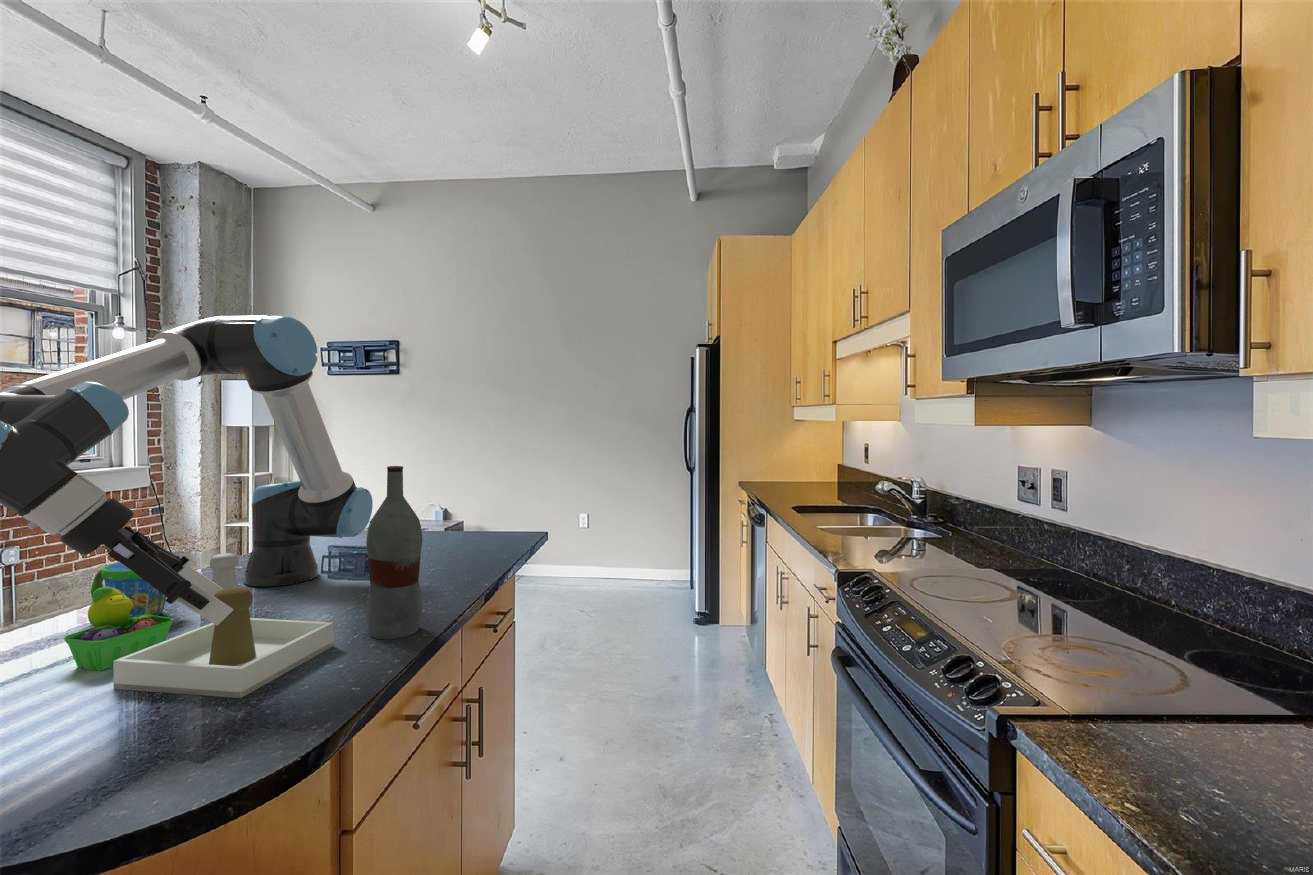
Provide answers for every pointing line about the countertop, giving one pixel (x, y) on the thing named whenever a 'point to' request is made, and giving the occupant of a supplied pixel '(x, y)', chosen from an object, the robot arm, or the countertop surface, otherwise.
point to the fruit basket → (114, 631)
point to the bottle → (394, 564)
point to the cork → (233, 630)
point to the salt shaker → (224, 570)
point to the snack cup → (131, 589)
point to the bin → (189, 672)
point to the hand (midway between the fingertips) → (220, 606)
